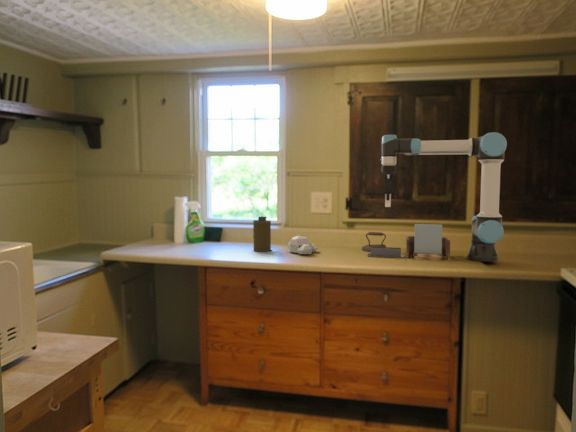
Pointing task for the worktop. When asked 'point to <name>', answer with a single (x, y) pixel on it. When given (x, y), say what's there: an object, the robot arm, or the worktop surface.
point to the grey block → (386, 252)
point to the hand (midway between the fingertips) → (387, 206)
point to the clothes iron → (368, 247)
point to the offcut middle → (427, 258)
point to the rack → (411, 251)
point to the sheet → (428, 239)
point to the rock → (301, 245)
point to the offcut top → (429, 255)
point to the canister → (262, 234)
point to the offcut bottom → (435, 260)
